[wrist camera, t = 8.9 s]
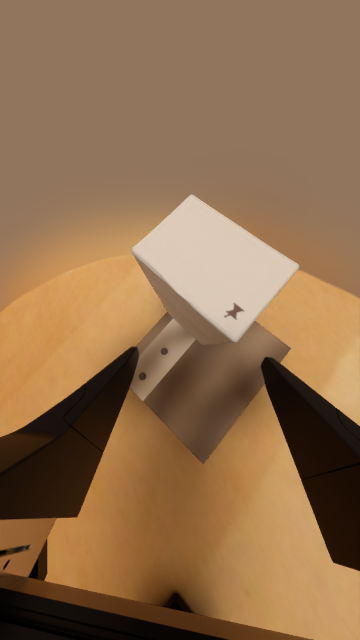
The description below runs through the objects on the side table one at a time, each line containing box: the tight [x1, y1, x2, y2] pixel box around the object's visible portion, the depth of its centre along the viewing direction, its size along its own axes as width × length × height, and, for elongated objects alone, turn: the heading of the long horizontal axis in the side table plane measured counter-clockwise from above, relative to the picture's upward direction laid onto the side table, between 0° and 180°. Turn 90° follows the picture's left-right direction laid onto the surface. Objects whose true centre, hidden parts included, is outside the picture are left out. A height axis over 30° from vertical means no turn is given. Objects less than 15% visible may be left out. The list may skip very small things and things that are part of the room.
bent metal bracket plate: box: [130, 312, 291, 464], centre depth 17 cm, size 14×16×2 cm
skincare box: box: [132, 195, 299, 345], centre depth 11 cm, size 6×4×12 cm
